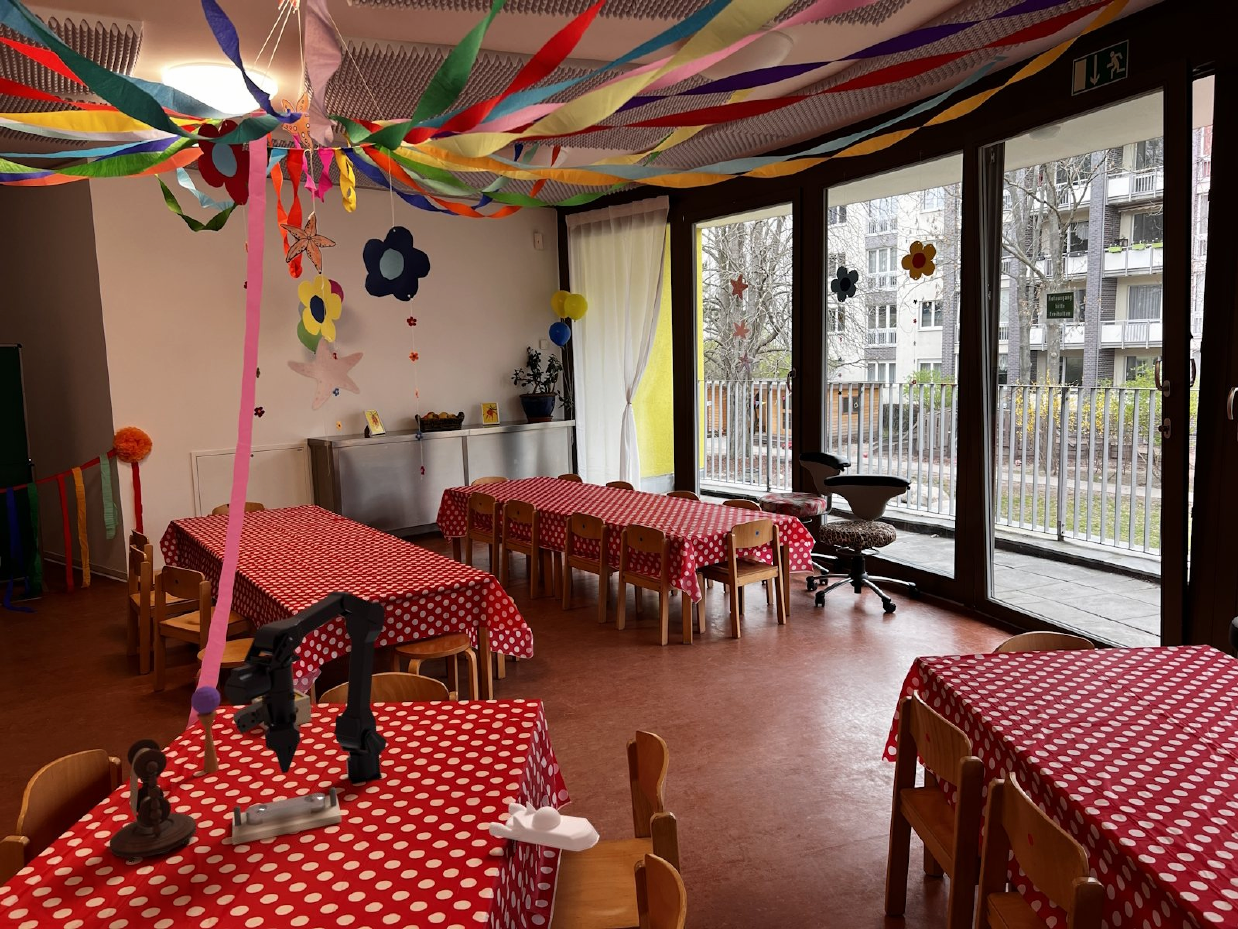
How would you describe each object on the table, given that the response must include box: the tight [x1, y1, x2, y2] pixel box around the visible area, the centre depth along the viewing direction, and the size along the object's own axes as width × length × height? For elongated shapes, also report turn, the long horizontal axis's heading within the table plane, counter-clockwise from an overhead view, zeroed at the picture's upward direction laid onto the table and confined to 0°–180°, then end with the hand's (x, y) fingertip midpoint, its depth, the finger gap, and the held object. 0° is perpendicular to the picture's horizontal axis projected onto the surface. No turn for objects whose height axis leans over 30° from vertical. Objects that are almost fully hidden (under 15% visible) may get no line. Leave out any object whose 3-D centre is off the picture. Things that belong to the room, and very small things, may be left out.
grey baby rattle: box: [245, 792, 326, 826], centre depth 179 cm, size 15×4×2 cm, turn 113°
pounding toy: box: [251, 688, 314, 731], centre depth 236 cm, size 18×17×8 cm
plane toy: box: [488, 801, 600, 852], centre depth 170 cm, size 10×20×6 cm, turn 70°
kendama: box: [190, 685, 221, 773], centre depth 203 cm, size 6×6×20 cm
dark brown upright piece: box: [109, 738, 197, 863], centre depth 171 cm, size 15×15×20 cm
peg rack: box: [231, 787, 342, 845], centre depth 179 cm, size 20×10×5 cm, turn 113°
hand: (284, 763), depth 179 cm, fingers open, 9 cm apart
